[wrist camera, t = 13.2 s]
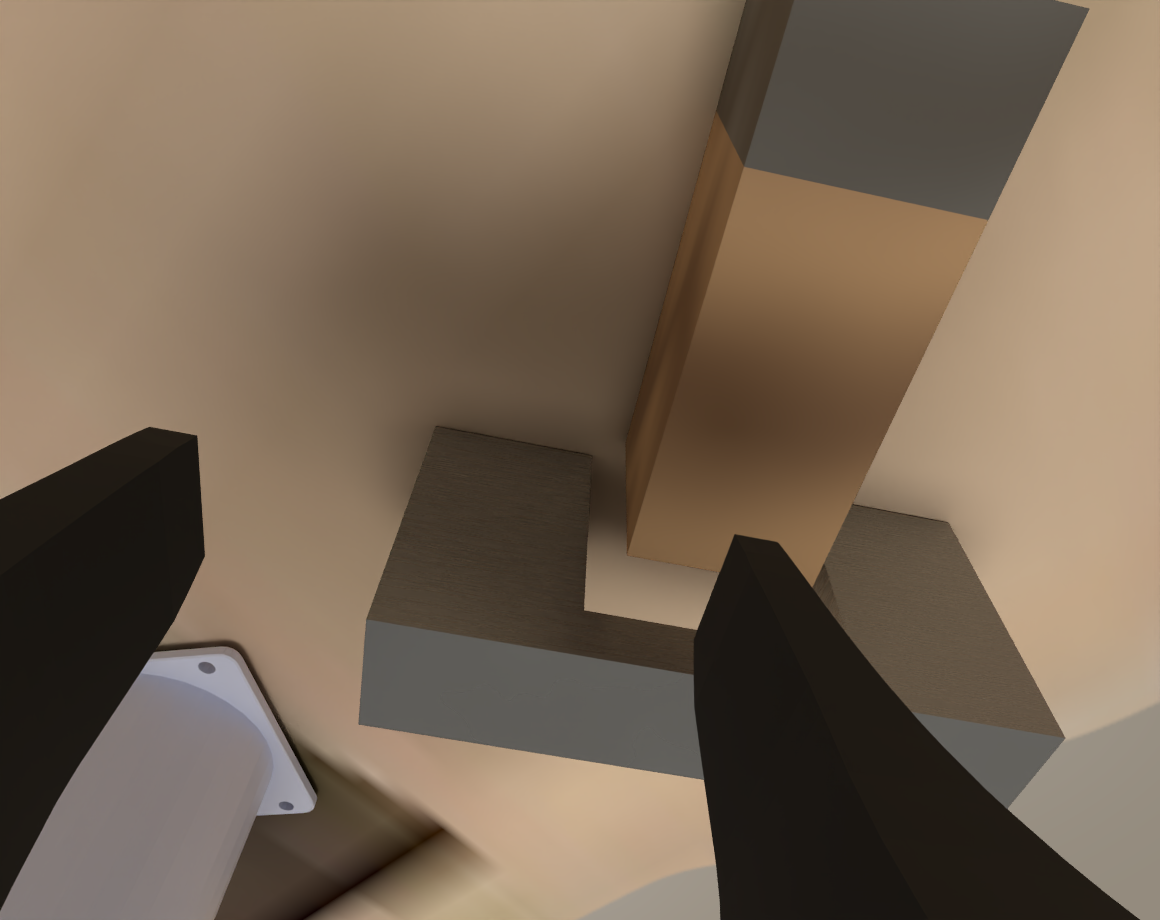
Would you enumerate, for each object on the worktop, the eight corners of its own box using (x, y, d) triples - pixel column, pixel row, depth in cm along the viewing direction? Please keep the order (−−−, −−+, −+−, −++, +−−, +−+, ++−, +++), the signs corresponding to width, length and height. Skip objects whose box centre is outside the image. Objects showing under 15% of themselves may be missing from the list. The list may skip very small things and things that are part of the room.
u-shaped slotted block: (902, 604, 23) (993, 826, 18) (424, 518, 22) (358, 724, 17) (948, 523, 22) (1065, 738, 16) (435, 426, 21) (365, 619, 15)
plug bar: (778, 471, 21) (811, 588, 17) (625, 442, 21) (627, 555, 17) (974, -14, 15) (1089, 9, 11) (764, -66, 15) (811, -59, 11)
